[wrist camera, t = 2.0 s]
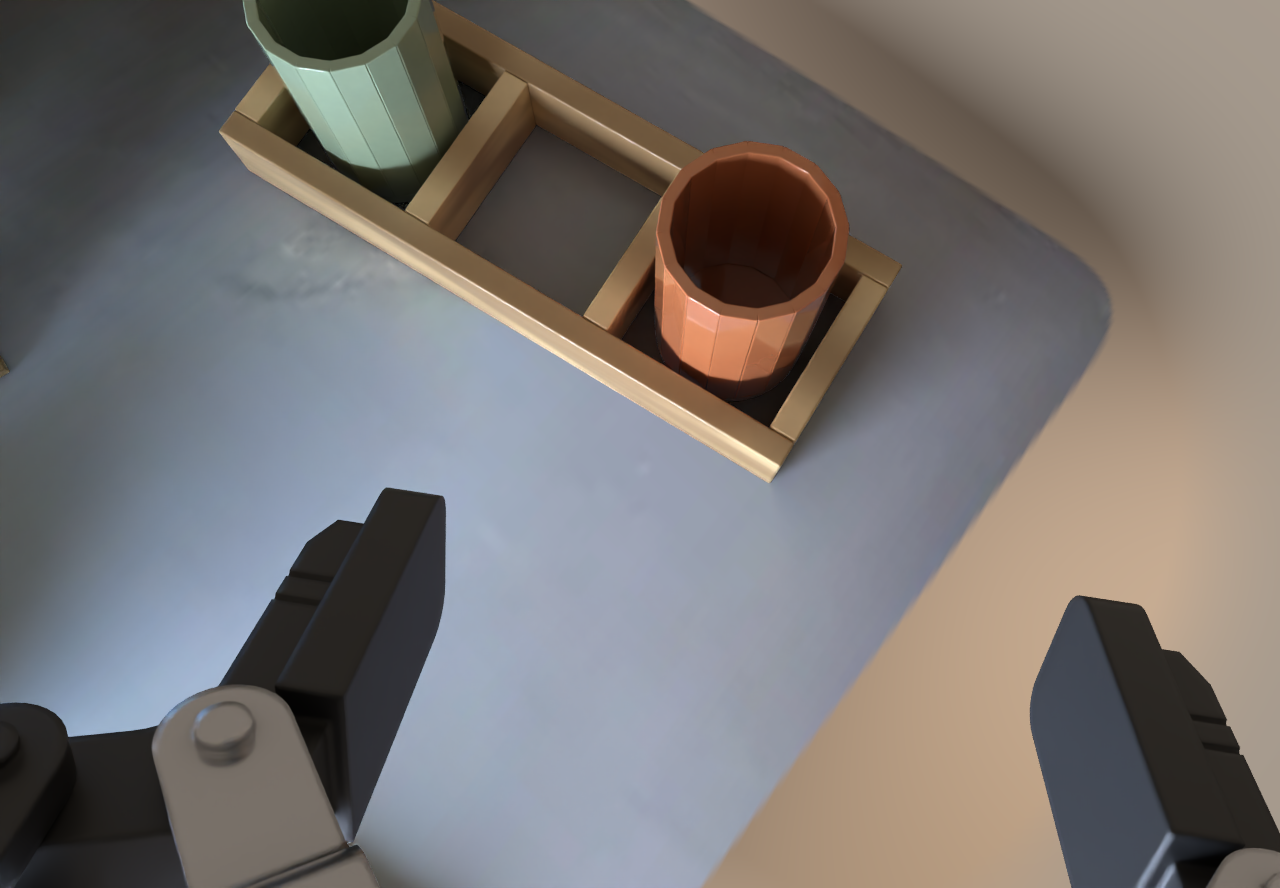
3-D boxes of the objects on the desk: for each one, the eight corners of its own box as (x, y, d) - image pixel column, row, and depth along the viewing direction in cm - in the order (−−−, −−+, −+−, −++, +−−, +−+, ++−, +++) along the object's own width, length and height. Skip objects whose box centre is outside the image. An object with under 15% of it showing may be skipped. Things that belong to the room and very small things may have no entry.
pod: (498, 116, 41) (457, -37, 32) (418, 228, 40) (354, 102, 31) (382, 50, 42) (311, -118, 33) (301, 159, 41) (206, 15, 32)
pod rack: (373, 4, 42) (353, -46, 39) (884, 295, 39) (903, 264, 36) (248, 170, 41) (217, 131, 38) (769, 484, 38) (780, 468, 35)
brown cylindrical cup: (830, 307, 39) (883, 200, 31) (755, 429, 38) (786, 355, 30) (704, 235, 40) (720, 109, 31) (627, 353, 39) (621, 258, 30)
